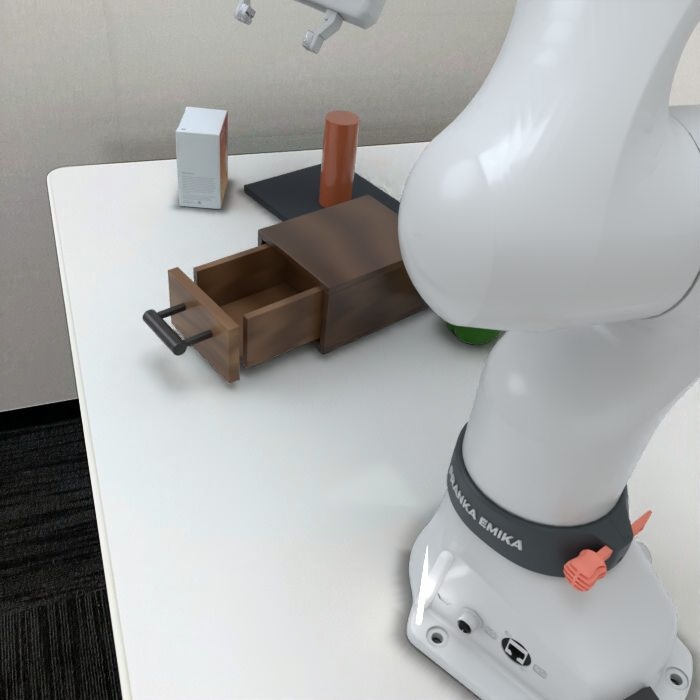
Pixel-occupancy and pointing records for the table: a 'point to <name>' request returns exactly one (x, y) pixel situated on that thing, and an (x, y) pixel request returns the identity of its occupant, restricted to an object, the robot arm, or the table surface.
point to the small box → (202, 157)
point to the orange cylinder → (338, 157)
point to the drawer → (240, 310)
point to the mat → (306, 193)
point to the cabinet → (349, 267)
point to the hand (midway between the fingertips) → (274, 35)
